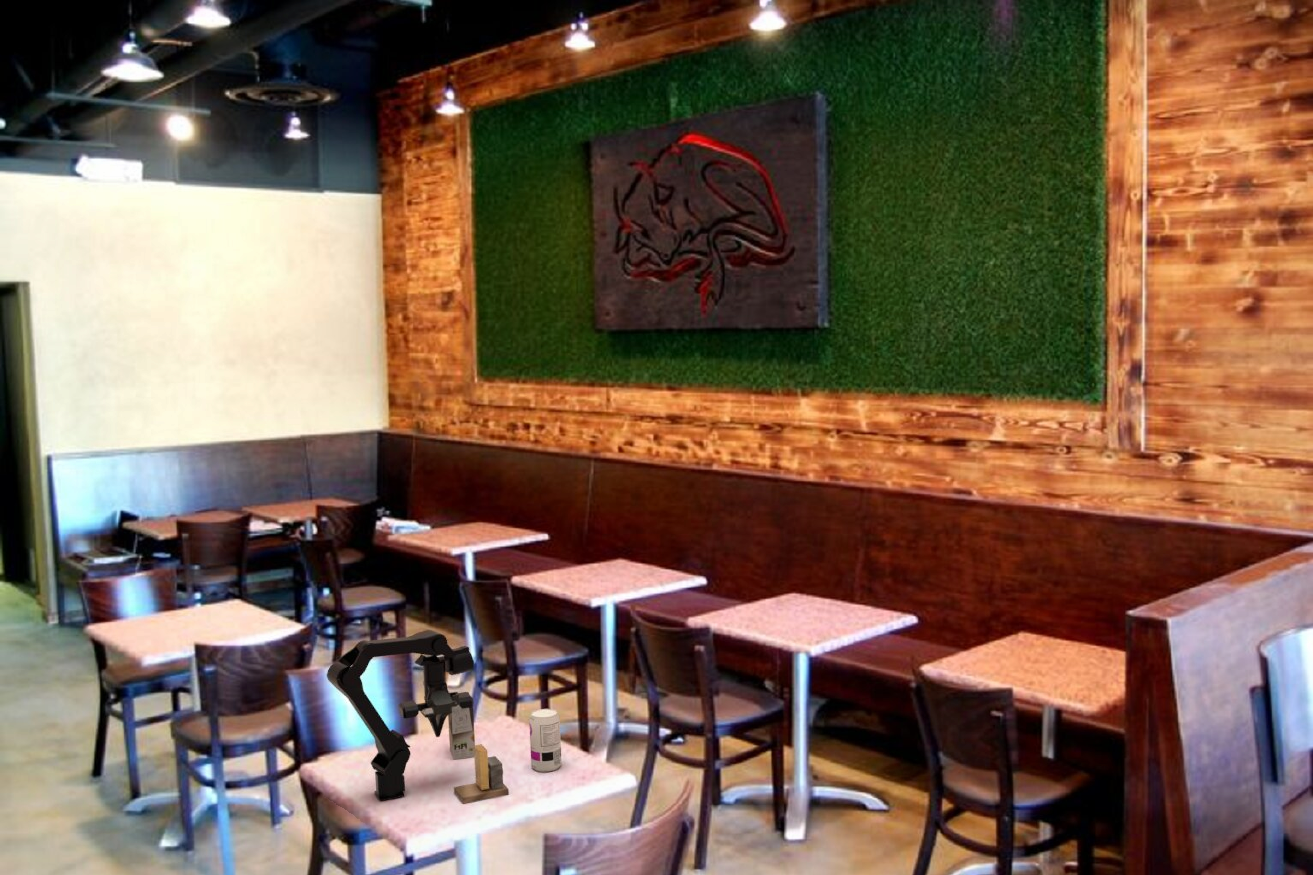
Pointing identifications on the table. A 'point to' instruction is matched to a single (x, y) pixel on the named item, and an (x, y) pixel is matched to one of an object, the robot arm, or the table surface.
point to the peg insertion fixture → (495, 789)
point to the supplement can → (545, 740)
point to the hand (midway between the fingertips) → (437, 736)
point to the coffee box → (461, 732)
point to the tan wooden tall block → (481, 767)
